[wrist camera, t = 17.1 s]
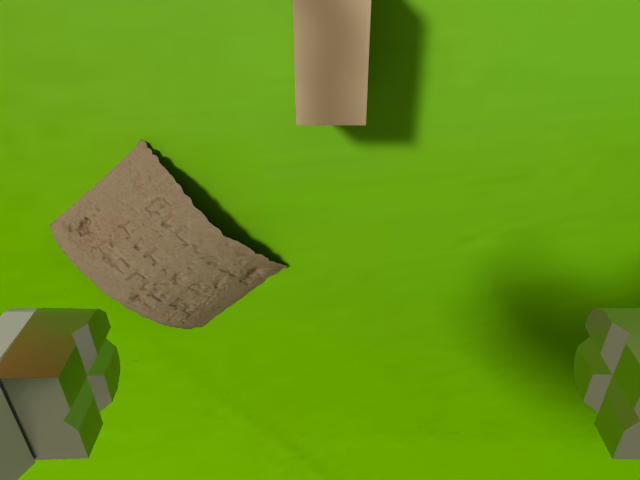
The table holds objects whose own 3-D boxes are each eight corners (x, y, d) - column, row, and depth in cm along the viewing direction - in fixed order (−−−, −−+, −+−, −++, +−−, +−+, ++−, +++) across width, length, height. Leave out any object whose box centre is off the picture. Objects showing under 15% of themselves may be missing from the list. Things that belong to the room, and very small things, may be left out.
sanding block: (365, -42, 28) (372, -29, 24) (360, 94, 32) (365, 125, 27) (297, -41, 28) (291, -29, 24) (300, 94, 32) (296, 125, 27)
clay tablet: (296, 263, 39) (294, 287, 36) (203, 336, 43) (196, 361, 40) (131, 120, 33) (116, 136, 31) (40, 217, 37) (21, 238, 35)
